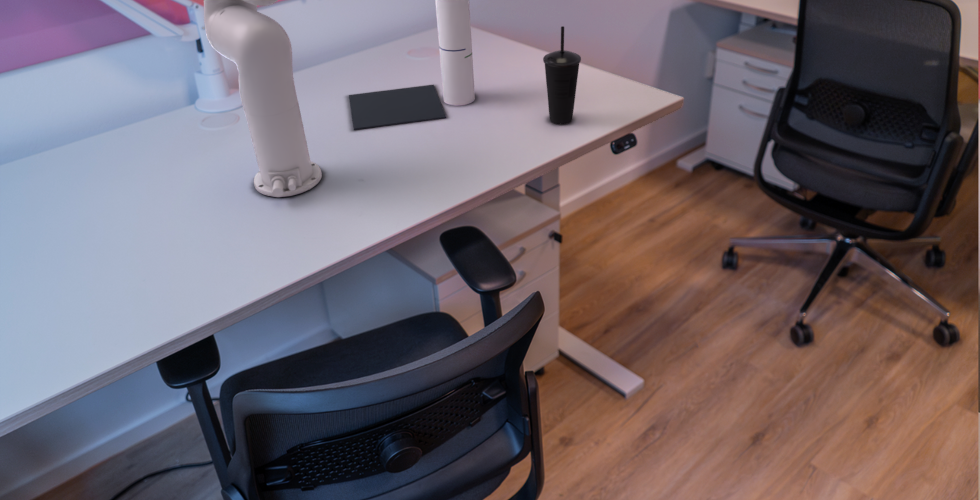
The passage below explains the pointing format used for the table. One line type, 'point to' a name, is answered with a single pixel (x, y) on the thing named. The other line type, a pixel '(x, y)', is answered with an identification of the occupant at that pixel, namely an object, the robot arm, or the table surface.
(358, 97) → the desk mat
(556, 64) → the drinking cup
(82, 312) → the table surface
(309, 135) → the table surface
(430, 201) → the table surface
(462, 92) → the cylindrical container
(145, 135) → the table surface
